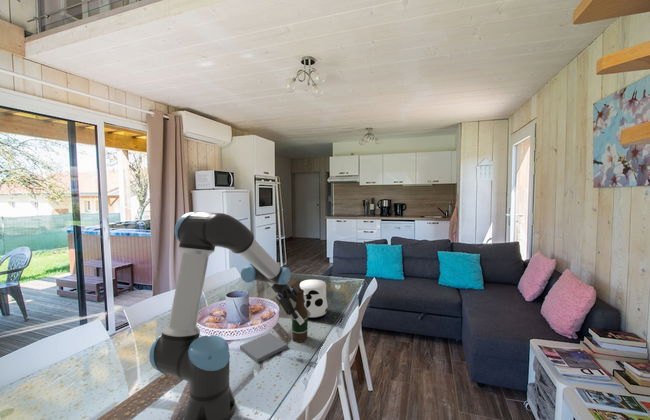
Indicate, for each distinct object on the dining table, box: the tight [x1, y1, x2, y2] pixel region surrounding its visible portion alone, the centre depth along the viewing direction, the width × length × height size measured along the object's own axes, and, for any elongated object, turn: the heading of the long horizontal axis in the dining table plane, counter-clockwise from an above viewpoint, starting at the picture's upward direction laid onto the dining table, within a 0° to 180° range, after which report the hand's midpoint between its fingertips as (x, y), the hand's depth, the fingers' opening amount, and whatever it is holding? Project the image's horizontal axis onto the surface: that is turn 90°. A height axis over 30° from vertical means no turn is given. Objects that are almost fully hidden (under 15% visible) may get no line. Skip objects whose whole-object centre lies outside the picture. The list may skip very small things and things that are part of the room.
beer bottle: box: [291, 288, 309, 343], centre depth 134 cm, size 8×8×24 cm
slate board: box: [239, 332, 289, 363], centre depth 126 cm, size 16×14×2 cm
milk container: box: [298, 279, 328, 319], centre depth 161 cm, size 17×17×18 cm
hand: (306, 319), depth 133 cm, fingers closed on beer bottle, 7 cm apart
